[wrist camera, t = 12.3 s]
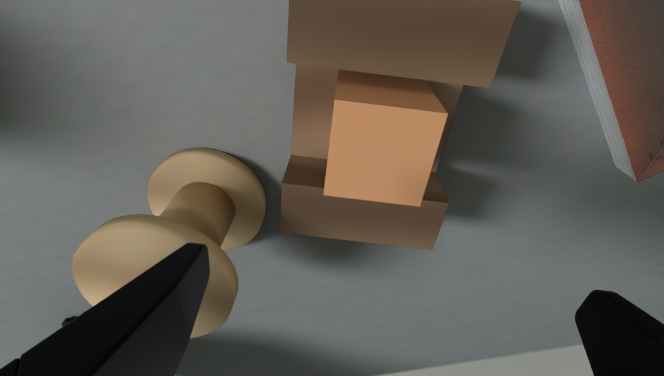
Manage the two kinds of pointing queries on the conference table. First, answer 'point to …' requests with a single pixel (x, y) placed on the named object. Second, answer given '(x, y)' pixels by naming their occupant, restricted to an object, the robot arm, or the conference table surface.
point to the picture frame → (624, 76)
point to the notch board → (386, 59)
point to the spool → (179, 230)
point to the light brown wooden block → (382, 138)
